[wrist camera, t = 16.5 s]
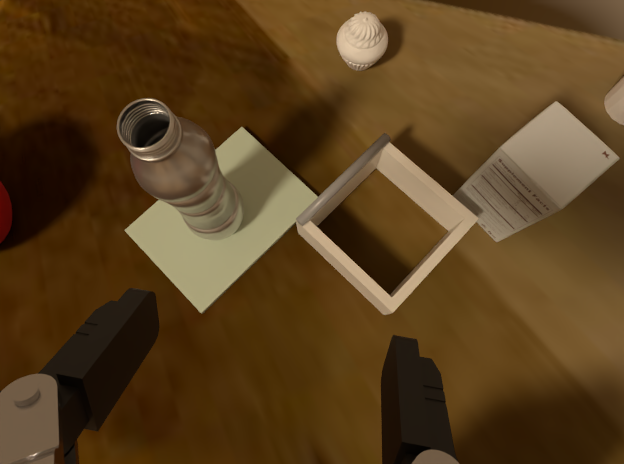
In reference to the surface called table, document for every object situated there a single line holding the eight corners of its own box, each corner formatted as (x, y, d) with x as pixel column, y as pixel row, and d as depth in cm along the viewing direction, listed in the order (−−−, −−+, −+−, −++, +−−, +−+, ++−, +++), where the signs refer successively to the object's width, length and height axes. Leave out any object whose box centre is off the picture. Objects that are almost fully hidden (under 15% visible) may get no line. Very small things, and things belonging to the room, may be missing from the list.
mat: (242, 129, 48) (241, 126, 47) (319, 200, 45) (319, 198, 45) (126, 231, 45) (124, 230, 44) (202, 313, 42) (201, 313, 42)
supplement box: (494, 159, 46) (559, 96, 34) (541, 206, 45) (625, 158, 33) (449, 195, 45) (498, 145, 33) (494, 245, 44) (564, 210, 32)
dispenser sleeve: (375, 156, 47) (384, 131, 41) (461, 231, 44) (483, 215, 38) (298, 232, 44) (295, 217, 39) (383, 315, 42) (395, 312, 36)
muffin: (350, 89, 49) (356, 49, 42) (326, 52, 50) (327, 8, 44) (392, 67, 50) (404, 25, 43) (367, 32, 51) (375, -14, 44)
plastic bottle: (187, 243, 44) (84, 171, 24) (194, 186, 45) (103, 76, 26) (245, 246, 43) (188, 174, 24) (250, 188, 45) (200, 78, 26)
